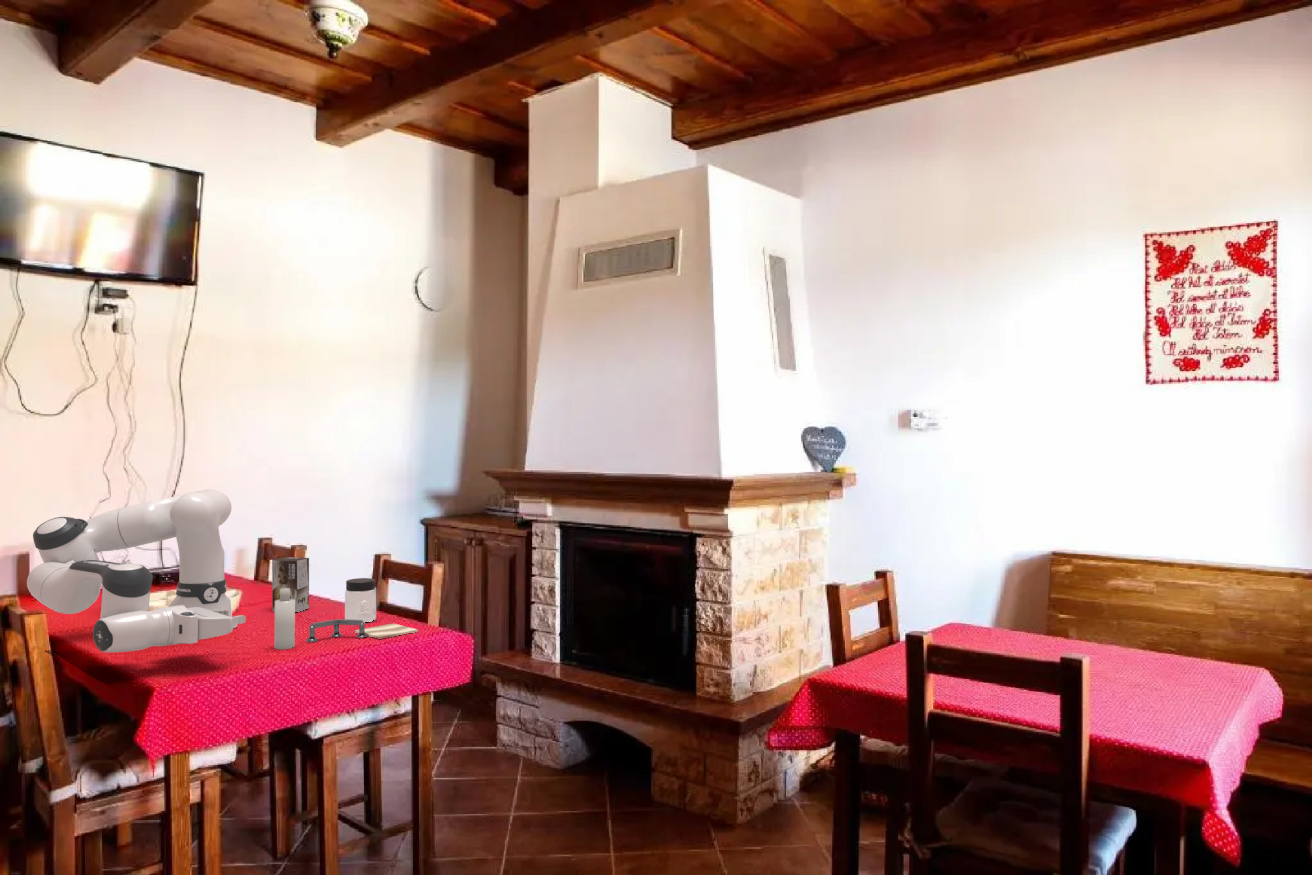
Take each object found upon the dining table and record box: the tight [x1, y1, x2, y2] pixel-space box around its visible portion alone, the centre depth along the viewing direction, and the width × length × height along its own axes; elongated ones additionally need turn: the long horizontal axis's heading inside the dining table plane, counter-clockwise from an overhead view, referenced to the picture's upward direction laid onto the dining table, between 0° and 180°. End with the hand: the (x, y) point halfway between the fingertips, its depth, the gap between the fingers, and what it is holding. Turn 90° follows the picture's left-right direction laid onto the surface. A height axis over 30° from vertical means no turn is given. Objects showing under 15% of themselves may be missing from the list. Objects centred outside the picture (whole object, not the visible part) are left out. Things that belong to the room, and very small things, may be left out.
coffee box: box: [271, 556, 310, 613], centre depth 275 cm, size 9×6×16 cm
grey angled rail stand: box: [306, 618, 368, 643], centre depth 237 cm, size 9×14×5 cm, turn 139°
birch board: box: [354, 623, 419, 639], centre depth 245 cm, size 12×12×1 cm
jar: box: [344, 577, 377, 623], centre depth 260 cm, size 9×8×12 cm
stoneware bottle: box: [274, 588, 296, 650], centre depth 228 cm, size 5×5×15 cm
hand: (235, 616), depth 219 cm, fingers open, 8 cm apart
